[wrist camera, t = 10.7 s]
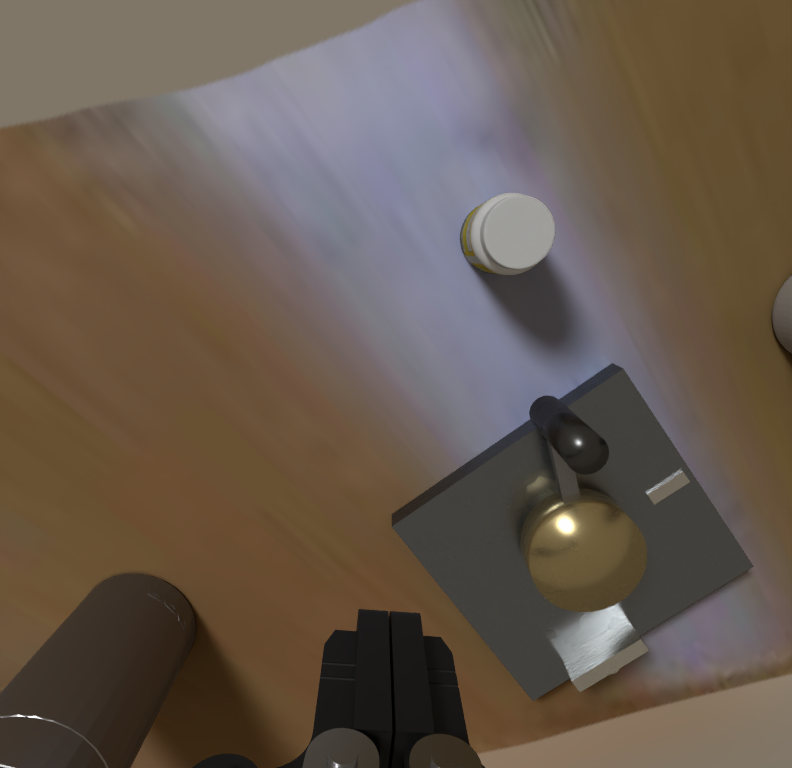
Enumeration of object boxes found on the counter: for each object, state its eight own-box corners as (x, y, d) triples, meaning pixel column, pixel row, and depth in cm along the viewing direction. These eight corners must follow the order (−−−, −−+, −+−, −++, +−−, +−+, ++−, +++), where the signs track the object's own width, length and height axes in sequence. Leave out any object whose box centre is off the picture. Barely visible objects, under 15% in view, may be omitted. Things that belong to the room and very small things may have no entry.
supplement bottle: (540, 244, 40) (579, 242, 31) (485, 286, 40) (509, 295, 32) (501, 186, 39) (531, 169, 30) (445, 230, 39) (459, 224, 31)
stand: (529, 685, 48) (542, 728, 43) (391, 514, 44) (391, 542, 40) (739, 555, 45) (776, 587, 41) (612, 363, 41) (637, 376, 37)
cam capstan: (637, 573, 42) (696, 649, 34) (533, 598, 43) (566, 680, 35) (600, 381, 39) (655, 415, 31) (486, 411, 39) (511, 452, 31)
